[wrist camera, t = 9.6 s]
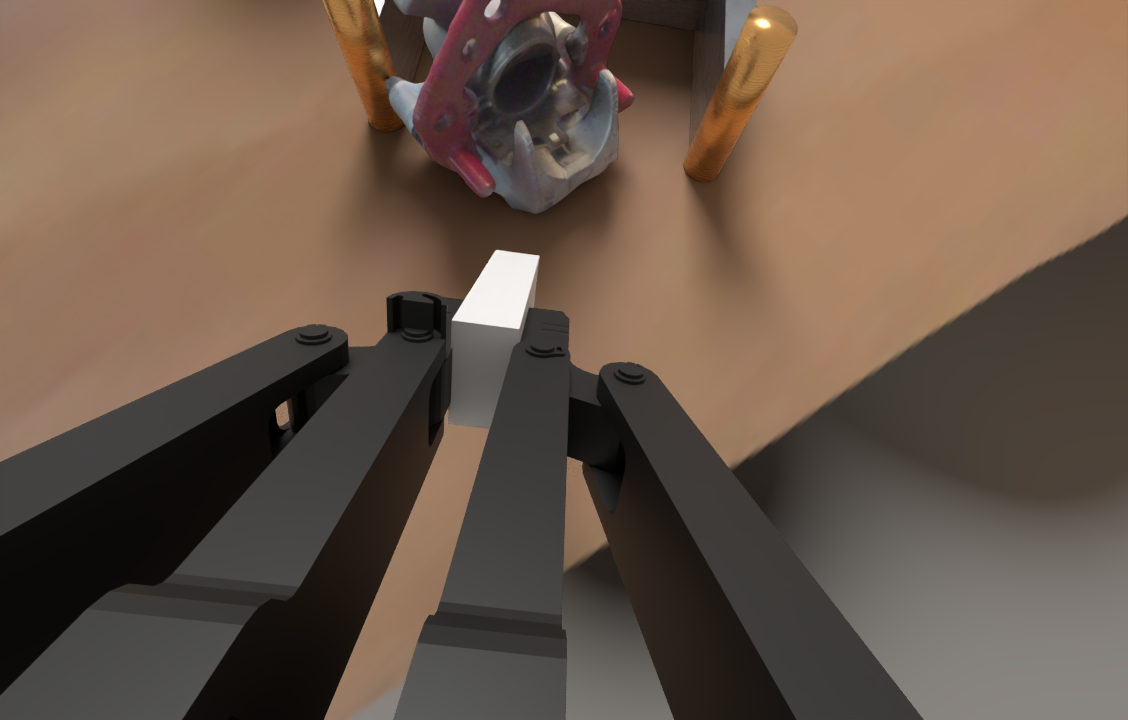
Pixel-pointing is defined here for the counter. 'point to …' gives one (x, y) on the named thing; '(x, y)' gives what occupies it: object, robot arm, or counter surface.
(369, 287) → the counter surface
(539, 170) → the brake caliper
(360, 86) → the bracket
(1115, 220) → the counter surface
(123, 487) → the robot arm
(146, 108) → the counter surface
